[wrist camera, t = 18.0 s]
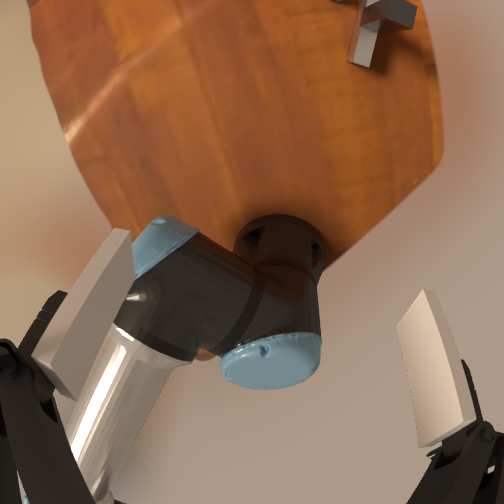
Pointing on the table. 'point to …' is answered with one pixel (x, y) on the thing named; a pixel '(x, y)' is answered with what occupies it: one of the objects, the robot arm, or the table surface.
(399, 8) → the grey inverted t block
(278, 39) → the table surface
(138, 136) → the table surface
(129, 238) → the robot arm
